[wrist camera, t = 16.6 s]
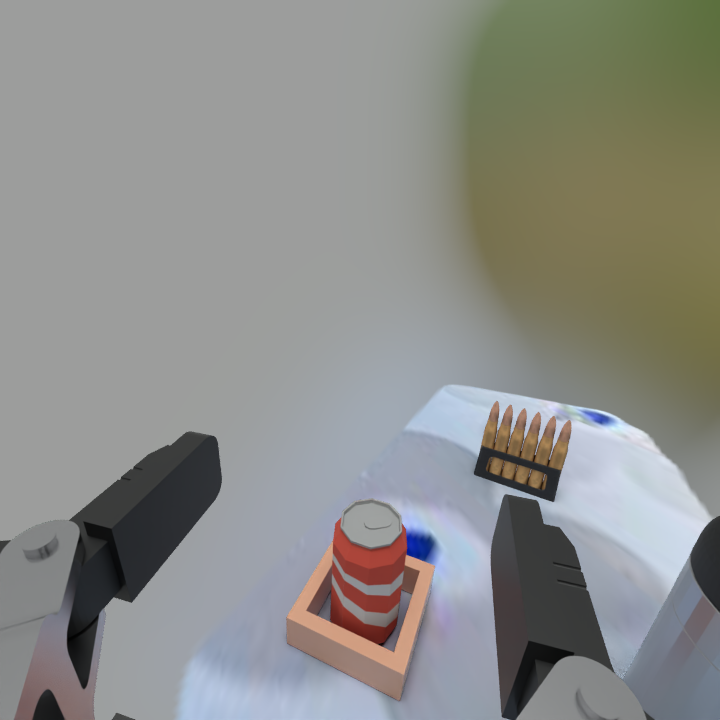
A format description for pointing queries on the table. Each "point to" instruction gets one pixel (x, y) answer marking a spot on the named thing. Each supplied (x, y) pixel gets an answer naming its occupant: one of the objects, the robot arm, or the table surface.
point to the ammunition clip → (523, 454)
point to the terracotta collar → (351, 649)
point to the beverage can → (368, 569)
